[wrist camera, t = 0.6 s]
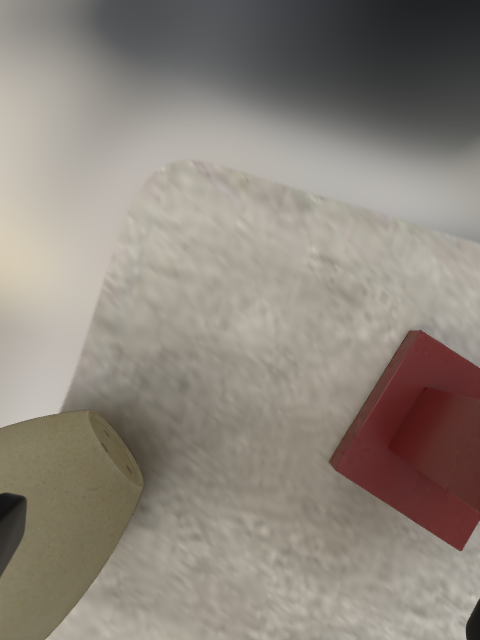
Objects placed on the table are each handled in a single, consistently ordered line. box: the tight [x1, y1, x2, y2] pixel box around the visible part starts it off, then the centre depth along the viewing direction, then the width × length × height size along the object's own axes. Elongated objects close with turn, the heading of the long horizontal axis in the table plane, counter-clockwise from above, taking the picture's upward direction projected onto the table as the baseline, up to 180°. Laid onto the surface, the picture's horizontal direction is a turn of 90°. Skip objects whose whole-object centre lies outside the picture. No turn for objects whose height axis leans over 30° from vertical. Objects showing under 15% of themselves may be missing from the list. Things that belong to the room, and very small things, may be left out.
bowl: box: [0, 410, 144, 640], centre depth 18 cm, size 10×10×7 cm
